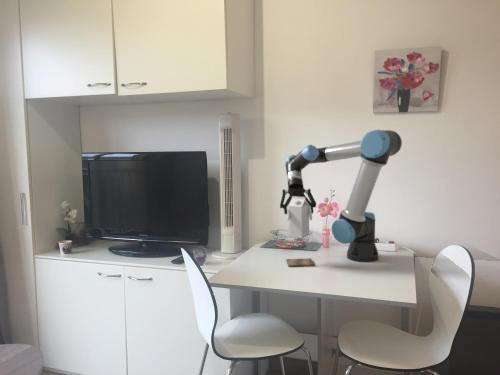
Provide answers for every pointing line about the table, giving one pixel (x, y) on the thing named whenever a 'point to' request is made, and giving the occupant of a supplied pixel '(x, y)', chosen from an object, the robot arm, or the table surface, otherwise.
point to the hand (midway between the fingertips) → (299, 218)
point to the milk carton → (298, 217)
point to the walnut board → (300, 262)
